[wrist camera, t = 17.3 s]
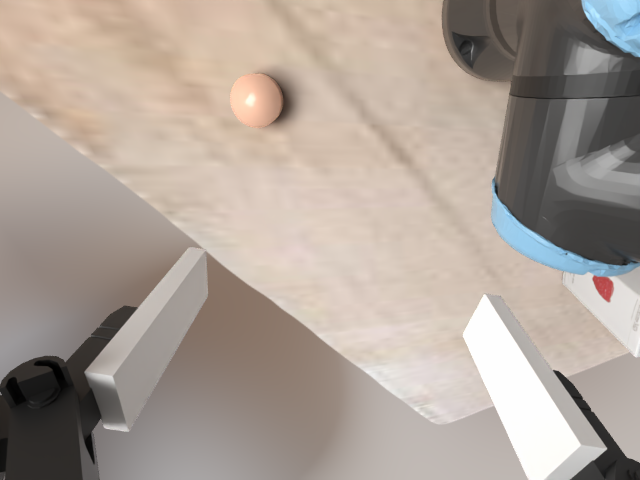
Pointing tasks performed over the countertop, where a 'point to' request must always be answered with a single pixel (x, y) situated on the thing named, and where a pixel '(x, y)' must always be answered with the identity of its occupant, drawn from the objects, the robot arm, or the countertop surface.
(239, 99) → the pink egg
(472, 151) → the countertop surface
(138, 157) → the countertop surface
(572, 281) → the supplement box
